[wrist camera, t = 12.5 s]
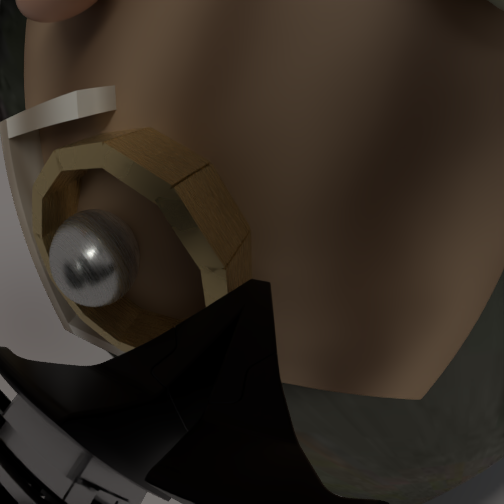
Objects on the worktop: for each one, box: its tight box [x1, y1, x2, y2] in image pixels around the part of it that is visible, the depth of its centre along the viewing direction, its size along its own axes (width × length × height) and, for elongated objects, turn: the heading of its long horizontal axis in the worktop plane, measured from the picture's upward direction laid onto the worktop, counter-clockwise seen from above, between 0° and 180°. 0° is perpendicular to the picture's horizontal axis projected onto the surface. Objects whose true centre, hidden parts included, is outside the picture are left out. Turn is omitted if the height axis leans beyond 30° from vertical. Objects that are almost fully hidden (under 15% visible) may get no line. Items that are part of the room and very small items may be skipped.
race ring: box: [32, 127, 252, 352], centre depth 11 cm, size 10×10×2 cm
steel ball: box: [49, 209, 140, 307], centre depth 10 cm, size 4×4×4 cm
